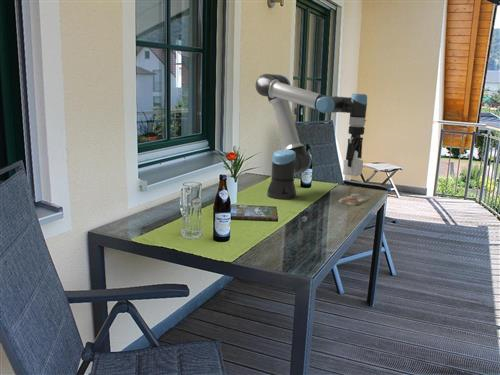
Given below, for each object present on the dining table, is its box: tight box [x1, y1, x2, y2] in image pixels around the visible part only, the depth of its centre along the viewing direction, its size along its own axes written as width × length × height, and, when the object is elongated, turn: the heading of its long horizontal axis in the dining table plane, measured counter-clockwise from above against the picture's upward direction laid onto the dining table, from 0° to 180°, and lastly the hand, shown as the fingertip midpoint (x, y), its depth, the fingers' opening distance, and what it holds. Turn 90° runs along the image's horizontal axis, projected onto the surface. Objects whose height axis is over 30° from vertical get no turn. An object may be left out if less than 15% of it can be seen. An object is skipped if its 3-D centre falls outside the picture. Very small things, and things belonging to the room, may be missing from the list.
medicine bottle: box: [342, 150, 364, 177], centre depth 244 cm, size 7×7×12 cm
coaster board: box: [337, 193, 370, 207], centre depth 253 cm, size 9×20×2 cm, turn 147°
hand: (352, 172), depth 245 cm, fingers closed on medicine bottle, 7 cm apart
